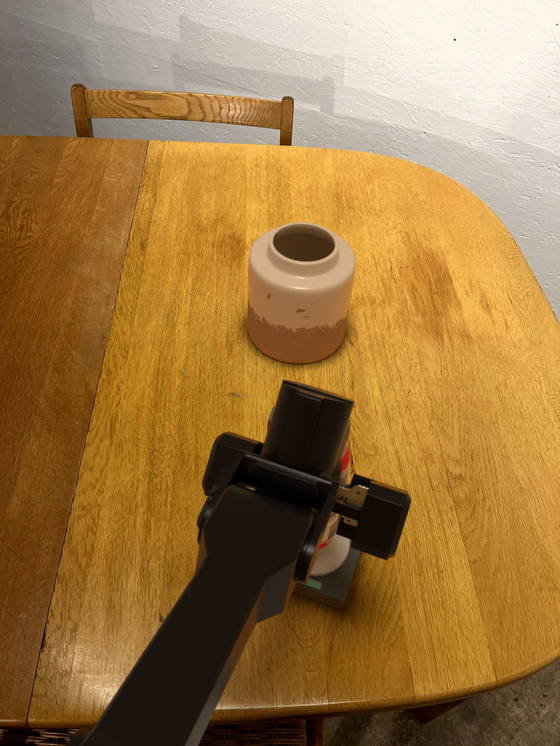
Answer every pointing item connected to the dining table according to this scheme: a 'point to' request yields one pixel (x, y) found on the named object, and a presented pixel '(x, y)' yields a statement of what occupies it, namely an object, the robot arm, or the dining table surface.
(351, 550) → the scale
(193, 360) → the dining table surface
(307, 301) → the vase
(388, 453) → the dining table surface
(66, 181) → the dining table surface
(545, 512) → the dining table surface
